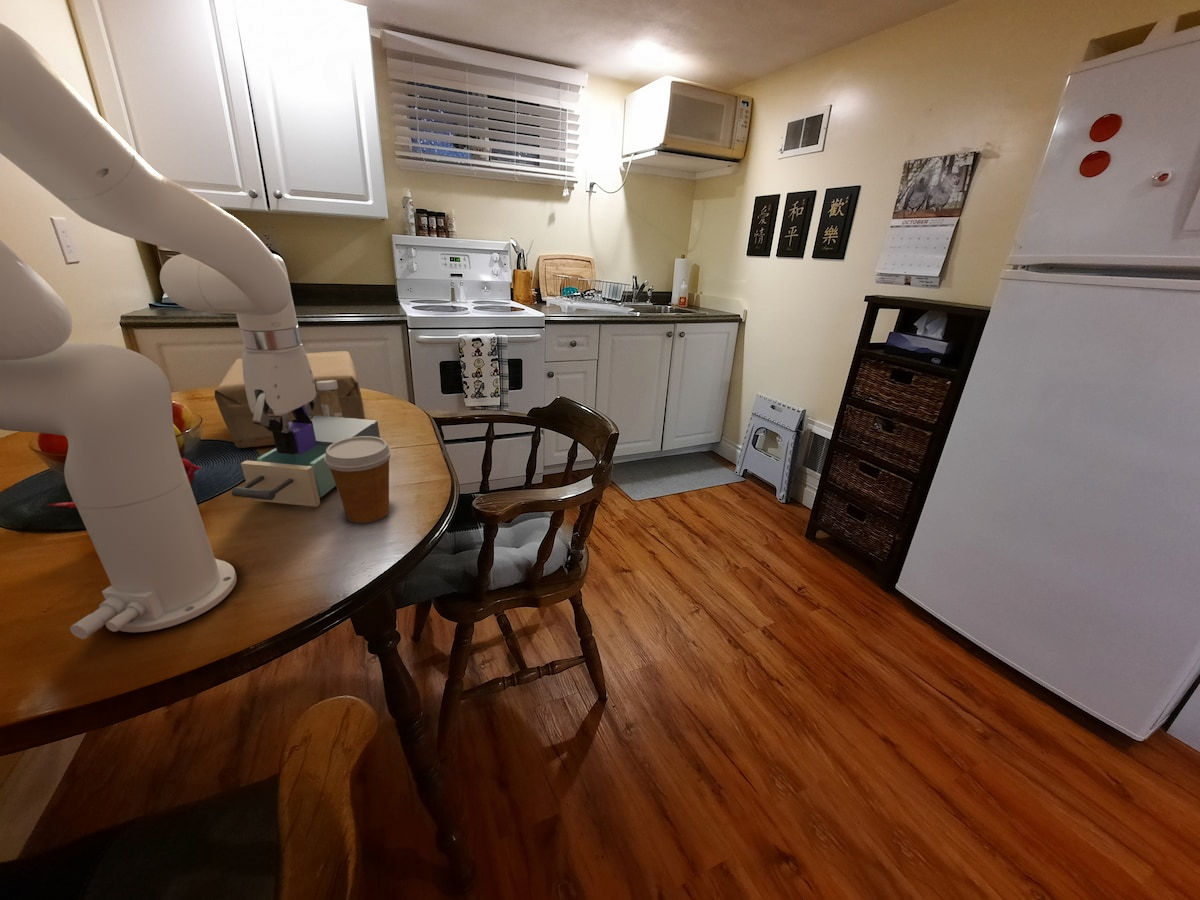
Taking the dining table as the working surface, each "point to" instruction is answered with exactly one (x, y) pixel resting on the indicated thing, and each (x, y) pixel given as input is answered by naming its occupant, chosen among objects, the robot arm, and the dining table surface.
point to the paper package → (253, 435)
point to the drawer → (287, 477)
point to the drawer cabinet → (342, 429)
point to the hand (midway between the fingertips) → (297, 446)
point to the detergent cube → (302, 436)
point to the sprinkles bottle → (329, 398)
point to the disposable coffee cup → (361, 476)
